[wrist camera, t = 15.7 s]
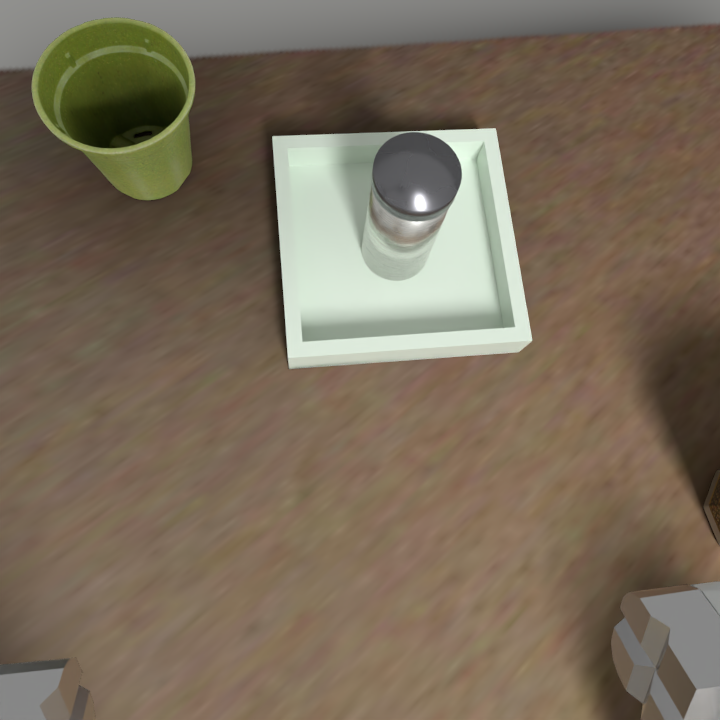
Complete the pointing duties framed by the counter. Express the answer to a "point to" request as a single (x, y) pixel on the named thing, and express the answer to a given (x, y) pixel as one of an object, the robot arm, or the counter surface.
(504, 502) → the counter surface
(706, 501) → the ceramic cup
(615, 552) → the counter surface
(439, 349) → the tray
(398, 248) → the shaker
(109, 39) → the plant pot
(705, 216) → the counter surface
